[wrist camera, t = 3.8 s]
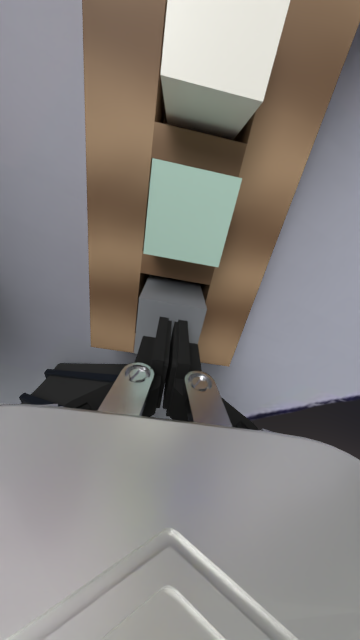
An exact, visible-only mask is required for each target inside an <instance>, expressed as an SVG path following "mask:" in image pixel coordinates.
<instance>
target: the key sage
mask: <svg viewBox="0 0 360 640" xmlns="http://www.w3.org/2000/svg"><path fill="white" fill-rule="evenodd" d="M241 182H242V178H238V177H234V176H230V175H225V174H221V173H216V172H212V171H207V170H203V169H199V168H194V167H190V166H185V165H181V164H177V163H172V162H168V161H163V160H159V159H154V158H152V168H151V178H150V189H149V199H148V209H147V220H146V230H145V241H144V251H143V254H148V255H154V256H159V257H165V258H170V259H175V260H181V261H186V262H192V263H197V264H202V265H208V266H213V267H219V263H220V259H221V256H222V252H223V248H224V245H225V241H226V237H227V234H228V230H229V226H230V222H231V219H232V215H233V211H234V208H235V204H236V200H237V196H238V193H239V189H240V185H241Z"/></svg>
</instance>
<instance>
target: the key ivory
mask: <svg viewBox="0 0 360 640" xmlns="http://www.w3.org/2000/svg"><path fill="white" fill-rule="evenodd" d="M289 4H290V0H167V11H166V21H165V32H164V42H163V53H162V63H161V74H160V76H161V83H162V90H163V97H164V104H165V111H166V118H167V124H170V125H174V126H178V127H182V128H186V129H190V130H194V131H199V132H203V133H207V134H211V135H215V136H219V137H223V138H227V139H232V140H234V138H235V137H236V136H237V135H238V133H239V132H240V131H241V129H242V128H243V127H244V126H245V124H246V123H247V122H248V120H249V119H250V118H251V117H252V115H253V114H254V113H255V111H256V110H257V109H258V108H259V106H260V105H261V104H262V102H263V100H264V96H265V93H266V89H267V85H268V81H269V78H270V74H271V70H272V67H273V63H274V59H275V56H276V52H277V48H278V44H279V41H280V37H281V33H282V30H283V26H284V22H285V18H286V15H287V11H288V7H289Z"/></svg>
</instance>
